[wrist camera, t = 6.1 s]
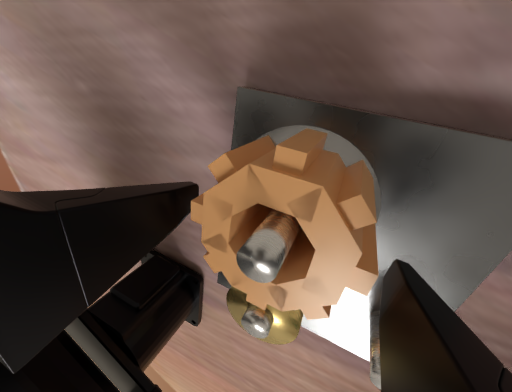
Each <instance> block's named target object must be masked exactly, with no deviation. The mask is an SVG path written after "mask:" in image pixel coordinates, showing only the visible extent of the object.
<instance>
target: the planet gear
mask: <svg viewBox="0 0 512 392" xmlns="http://www.w3.org/2000/svg"><path fill="white" fill-rule="evenodd" d="M327 134H328V133H325V132H321V131H316V130H312V129H308V128H306V129H304V130H303V131H301V132H299V133H297V134H296V135H294V136H292V137H290V138H288V139H287V140H285V141H283V142H281V143H280V144H278V145H277V146H276V147H275V145H274V143H273V142H272V140H271V138H270V137H269V135H268V136H265V137H263V138H260V139H258V140H255V141H253V142H251V143H248V144H246V145H243V146H241V147H239V148H236V149H234V150H231V151H229V152H226V153H224V154H223V155H222V156H220V157H219V158H218V159H216V160H215V161H214V162H212V163H211V164H210V165H208V167H209V169H210V171H211V172H212V174H213V175H214V177H215V178H216V180H217V181H218V184H217V185H215V186H214V187H212V188H211V189H209V190H208V191H206V192H205V193H203V194H201V195H200V196H198V197H196V198H195V199H193V200H191V220H192V221H195V222H197V223H199V224H201V225H202V238H201V242H202V244H203V245H204V247H205V248H206V249H207V251H208V252H207V253H206V254H205V255H204V256H203V257H204V259H205V260H206V262H207V263H208V264H209V266H210V267H211V269H212V270H213V272H214V273H217V272H220V271H222V273H223V274H224V276H225V277H226V279H227V280H228V282H229V283H230V284H231V286H233V287H235V288H237V289H238V290H240V291H242V292H244V293H246V294H247V297H246V301H247V302H249V303H251V304H253V305H255V306H257V307H259V308H261V309H263V310H265V309H266V307H267V305H270V306H272V307H274V308H276V309H278V310H280V311H282V312H283V311H291V310H298V309H301V311H302V312H303V314H304V316H305V317H306V319H307V320H312V319H322V318H329V316H330V311H331V305H337V303H338V301H339V299H340V297H341V295H342V293H343V291H344V289H345V287H347V288H349V289H351V290H354V291H356V292H358V293H360V294H363V295H365V296H367V295H368V294H369V292H370V290H371V288H372V287H373V285H374V283H375V282H376V280H377V278H378V276H379V273H378V258H377V242H376V227H375V223H377V219H376V206H375V193H374V180H373V177H372V175H371V173H370V171H369V169H368V168H367V166H366V164H365V162H364V160H361V161H359V162H357V163H354V164H352V165H350V166H348V167H346V166H345V164H344V162H343V161H342V159H341V157H340V155H339V154H338V153H334V152H330V151H326V150H323V147H324V144H325V141H326V138H327ZM272 209H275V210H278V211H280V212H283V213H286V214H289V215H291V216H294V217H296V219H297V221H298V222H299V224H300V226H301V227H302V229H300V230H299V232H298V234H297V236H296V238H295V240H294V242H293V244H292V246H291V248H290V250H289V252H288V254H287V256H286V258H285V260H284V262H283V264H282V266H281V268H280V270H279V272H278V274H277V276H276V278H275V279H274V280H273V281H271V282H268V283H260V282H256V281H254V280H252V279H250V278H248V277H247V276H246V275H245V274H244V273H243V272H242V271H241V270H240V268H239V266H238V264H237V260H236V256H237V252H238V251H239V249H240V248H241V247H242V246H243V244H244V243H245V242H246V241H247V239H248V238H249V237H250V236H251V235H252V233H253V232H254V231H255V230H256V229H257V227H258V226H259V225H260V224H261V222H262V221H263V220H264V219H265V218H266V216H267V215H268V214H269V213H270V212H271V210H272Z"/></svg>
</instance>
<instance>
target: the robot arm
mask: <svg viewBox="0 0 512 392" xmlns="http://www.w3.org/2000/svg"><path fill="white" fill-rule="evenodd" d="M198 196H199V186H198V185H197V184H196V183H193V182H177V183H163V184H150V185H137V186H123V187H110V188H96V189H81V190H58V191H31V192H10V191H3V190H0V392H120V391H121V392H162V390H161V389H160V388H159V387H158V385H154V384H153V383H152V381H151V380H150V379H149V378H148V377H147V376H146V375H145V374H144V371H145V369H146V368H147V367H148V366H149V365H150V363H151V362H152V361H153V360H154V358H155V357H156V356H157V355H158V353H159V352H160V351H161V350H162V348H163V347H164V346H165V345H166V343H167V342H168V341H169V340H170V338H171V337H172V336H173V335H174V333H175V332H176V331H177V330H178V329H179V327H180V326H181V325H182V324H183V322H184V321H187V322H189V323H190V324H192V325H194V326H198V325H199V323H200V322H201V309H202V292H203V278H202V277H201V276H200V275H199V274H197V273H195V272H193V271H192V270H190V269H188V268H186V267H184V266H182V265H180V264H178V263H176V262H174V261H172V260H170V259H169V258H167V257H165V256H163V255H161V254H159V253H157V252H155V251H153V250H152V249H153V248H154V247H156V246H157V245H158V244H159V243H160V242H161V241H162V240H163V239H164V238H165V237H167V236H168V235H169V234H170V233H171V232H172V231H173V230H174V229H175V228H176V227H177V226H178V225H179V224H180V223H181V222H182V221H183V220H184V219H185V217H186V216H187V215H188V214H189V213H190V212H191V200H193V199H195V198H196V197H198ZM140 260H141V262H142V265H141V266H139V267H138V268H137V269H135V270H134V271H133V272H131V273H130V274H129V275H127V276H126V277H125V278H123V279H122V280H121V281H119V282H118V283H117V284H115V283H116V282H117V281H118V280H119V279H120V278H121V277H122V276H123V275H125V274H126V273H127V272H128V271H129V270H130V269H131V268H132V267H133V266H135V265H136V264H137V263H138V262H139V261H140ZM114 284H115V285H114ZM112 285H114V286H113V287H112V288H111V289H110V292H108V293H107V294H106V295H104V296H103V297H102V298H100V299H99V300H98V301H96V300H97V299H98V298H99V297H100V296H101V295H103V294H104V293H105V292H106V291H107V290H108V289H109V288H110V287H111V286H112ZM95 301H96V302H95ZM94 302H95V303H94ZM93 303H94V304H93ZM91 304H93V305H91ZM90 305H91V306H90ZM89 306H90V307H89ZM88 307H89V308H88ZM64 329H65V330H66V331H67V332H68V333H69V334H68V333H67V332H66V331H65V330H64ZM72 338H73V339H74V340H75V341H76V342H77V343H78V344H77V343H76V342H75V341H74V340H73V339H72ZM379 344H380V372H381V392H512V373H511V372H510V371H509V370H508V369H507V368H503V367H504V365H503V364H502V363H501V362H500V361H499V360H498V359H497V357H496V356H495V355H494V354H493V353H492V352H491V351H490V350H489V349H488V348H487V347H486V346H485V345H484V343H483V342H482V341H481V340H480V339H479V338H478V337H477V336H476V335H475V334H474V333H473V332H472V331H471V330H470V328H469V327H468V326H467V325H466V324H465V323H464V322H463V321H462V320H461V319H460V318H459V317H458V316H457V314H456V313H455V312H454V311H453V310H452V309H451V308H450V307H449V306H448V305H447V304H446V303H445V302H444V301H443V299H442V298H441V297H440V296H439V295H438V294H437V293H436V292H435V291H434V290H433V289H432V288H431V287H430V285H429V284H428V283H427V282H426V281H425V280H424V279H423V278H422V277H421V276H420V275H419V274H418V273H417V272H416V270H415V269H414V268H413V267H412V266H411V265H410V264H409V263H406V262H404V261H401V260H398V259H396V260H394V261H393V262H392V264H391V266H390V267H389V269H388V271H387V272H386V274H385V276H384V278H383V282H382V293H381V303H380V313H379ZM81 348H82V349H83V350H84V351H85V352H86V353H87V354H86V353H85V352H84V351H83V350H82V349H81ZM90 358H91V359H92V360H93V361H94V362H95V363H96V364H95V363H94V362H93V361H92V360H91V359H90ZM99 368H100V369H101V370H102V371H103V372H104V373H103V372H102V371H101V370H100V369H99ZM107 377H108V378H109V379H110V380H111V381H112V382H113V383H112V382H111V381H110V380H109V379H108V378H107ZM116 387H117V388H118V389H119V390H120V391H119V390H118V389H117V388H116Z"/></svg>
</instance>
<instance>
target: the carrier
mask: <svg viewBox="0 0 512 392" xmlns="http://www.w3.org/2000/svg"><path fill="white" fill-rule="evenodd" d="M306 128H308V129H312V130H316V131H321V132H325V133H328V134H327V138H326V141H325V144H324V147H323V150H326V151H330V152H334V153H338V154H339V155H340V157H341V159H342V161H343V162H344V164H345V166H346V167H348V166H350V165H352V164H354V163H357V162H359V161H361V160H364V162H365V164H366V166H367V168H368V169H369V171H370V173H371V175H372V177H373V180H374V193H375V206H376V219H377V223H375V227H376V242H377V258H378V273H379V276H378V278H377V280H376V282H375V283H374V285H373V287H372V288H371V290H370V292H369V294H368V295H367V296H365V295H363V294H360V293H358V292H356V291H354V290H351V289H349V288H347V287H345V289H344V291H343V293H342V295H341V297H340V299H339V301H338V303H337V305H331V311H330V316H329V318H322V319H312V320H307V319H306V317H305V316H304V314H303V312H302V311H301V309H298V310H291V311H283V312H282V311H280V310H278V309H276V308H274V307H272V306H270V305H267V307H266V309H265V310H263V309H261V308H259V307H257V306H255V305H253V304H251V303H249V302H247V301H246V297H247V294H246V293H244V292H242V291H240V290H238V289H237V288H235V287H233V286H231V284H230V283H229V282H228V280H227V279H226V277H225V276H224V274H223V273H222V271H220V272H218V281H217V283H219V284H221V285H223V286H225V287H227V288H229V289H230V290H229V291H228V293H227V306H228V309H229V311H230V313H231V315H232V317H233V318H234V319H235V321H236V322H237V323H238V324H239V325H240V326H241V327H242V328H243V329H244V330H245V331H246V332H248V333H249V334H250V335H252V336H254V337H256V338H257V339H260V340H262V341H264V342H267V343H271V344H287V343H290V342H292V341H293V340H295V338H296V337H297V335H298V333H299V329H300V326H302V327H304V328H306V329H308V330H310V331H312V332H313V333H315V334H317V335H319V336H321V337H323V338H325V339H327V340H329V341H331V342H333V343H335V344H337V345H338V346H340V347H342V348H344V349H346V350H348V351H350V352H352V353H354V354H356V355H358V356H360V357H362V358H363V359H365V360H367V361H369V362H370V379H371V381H372V383H373V384H374V385H375V386H376V387H377V388H379V389H380V390H381V372H380V344H379V313H380V303H381V293H382V282H383V278H384V276H385V274H386V272H387V271H388V269H389V267H390V266H391V264H392V262H393V261H394V260H396V259H398V260H401V261H404V262H406V263H409V264H410V265H411V266H412V267H413V268H414V269H415V270H416V272H417V273H418V274H419V275H420V276H421V277H422V278H423V279H424V280H425V281H426V282H427V283H428V284H429V285H430V287H431V288H432V289H433V290H434V291H435V292H436V293H437V294H438V295H439V296H440V297H441V298H442V299H443V301H444V302H445V303H446V304H447V305H448V306H449V307H450V308H451V309H452V310H453V311H454V312H455V311H456V310H457V309H458V308H459V307H460V305H461V304H462V303H463V302H464V301H465V300H466V299H467V298H468V297H469V296H470V295H471V294H472V293H473V291H474V290H475V289H476V288H477V287H478V286H479V285H480V284H481V283H482V282H483V281H484V280H485V278H486V277H487V276H488V275H489V274H490V273H491V272H492V271H493V270H494V269H495V268H496V267H497V265H498V264H499V263H500V262H501V261H502V260H503V259H504V258H505V257H506V256H507V255H508V254H509V253H510V251H511V250H512V140H511V139H506V138H501V137H495V136H490V135H485V134H480V133H475V132H470V131H465V130H460V129H455V128H450V127H445V126H440V125H435V124H430V123H425V122H420V121H415V120H410V119H405V118H400V117H395V116H390V115H385V114H380V113H374V112H369V111H364V110H359V109H354V108H349V107H344V106H339V105H334V104H329V103H324V102H319V101H314V100H309V99H304V98H299V97H294V96H289V95H284V94H279V93H274V92H269V91H264V90H259V89H253V88H248V87H238V89H237V99H236V108H235V118H234V128H233V137H232V147H231V150H234V149H236V148H239V147H241V146H243V145H246V144H248V143H251V142H253V141H255V140H258V139H260V138H263V137H265V136H268V135H269V137H270V138H271V140H272V142H273V143H274V145H275V147H276V146H277V145H278V144H280V143H281V142H283V141H285V140H287V139H288V138H290V137H292V136H294V135H296V134H297V133H299V132H301V131H303V130H304V129H306ZM300 229H302V227H301V226H300V224H299V222H298V221H297V219H296V217H294V216H291V215H289V214H286V213H283V212H280V211H278V210H275V209H272V210H271V212H270V213H269V214H268V215H267V216H266V218H265V219H264V220H263V221H262V222H261V224H260V225H259V226H258V227H257V229H256V230H255V231H254V232H253V233H252V235H251V236H250V237H249V238H248V239H247V241H246V242H245V243H244V244H243V246H242V247H241V248H240V249H239V251H238V252H237V256H236V260H237V264H238V266H239V268H240V270H241V271H242V272H243V273H244V274H245V275H246V276H247V277H248V278H250V279H252V280H254V281H256V282H260V283H268V282H271V281H273V280H274V279H275V278H276V276H277V274H278V272H279V270H280V268H281V266H282V264H283V262H284V260H285V258H286V256H287V254H288V252H289V250H290V248H291V246H292V244H293V242H294V240H295V238H296V236H297V234H298V232H299V230H300Z"/></svg>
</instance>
